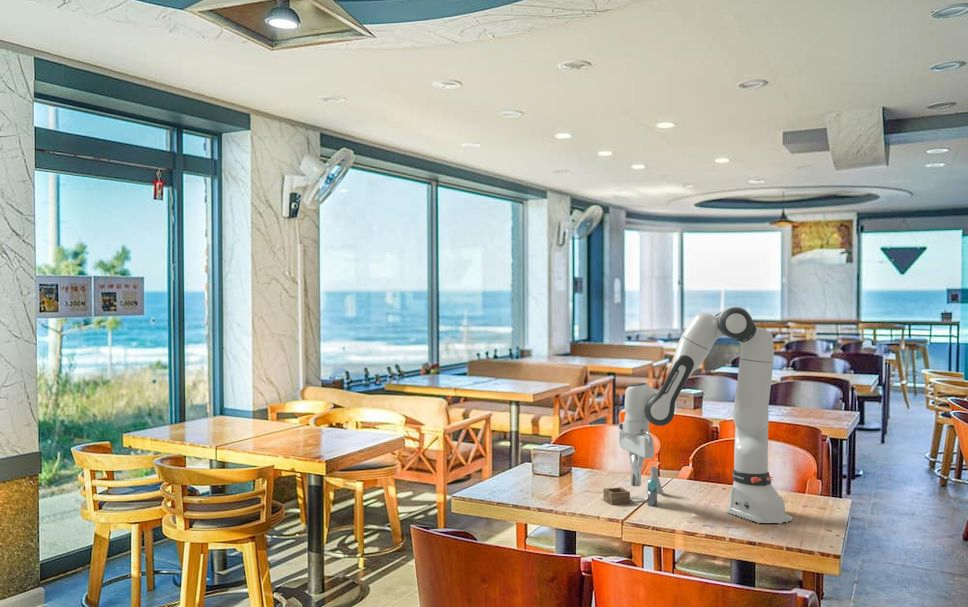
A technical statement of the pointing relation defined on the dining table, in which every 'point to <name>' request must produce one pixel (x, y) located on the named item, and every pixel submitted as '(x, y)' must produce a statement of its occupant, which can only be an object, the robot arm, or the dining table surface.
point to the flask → (655, 476)
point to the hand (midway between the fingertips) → (636, 465)
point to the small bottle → (652, 492)
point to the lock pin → (635, 471)
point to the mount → (620, 497)
